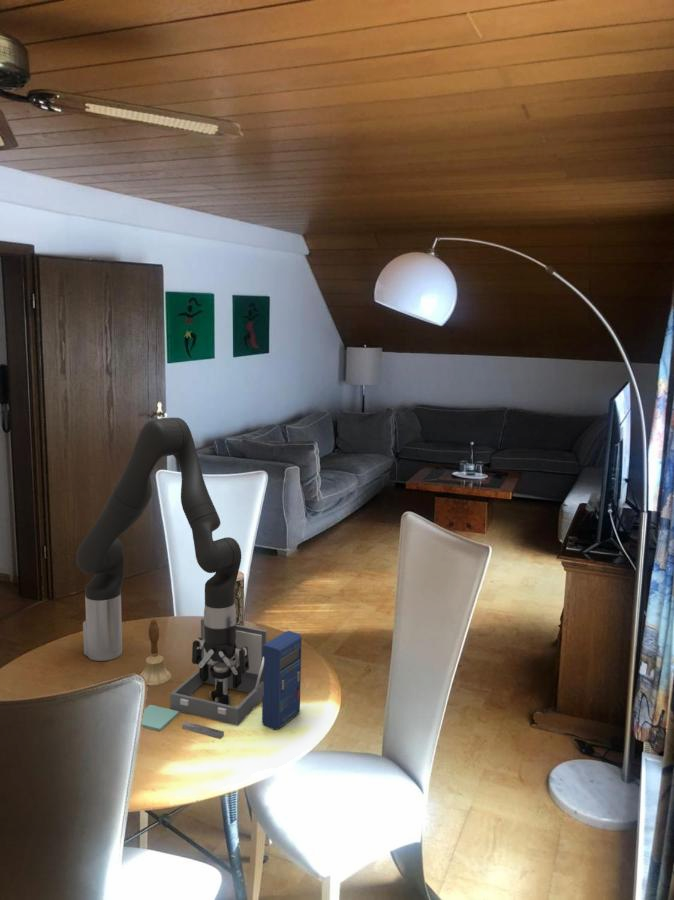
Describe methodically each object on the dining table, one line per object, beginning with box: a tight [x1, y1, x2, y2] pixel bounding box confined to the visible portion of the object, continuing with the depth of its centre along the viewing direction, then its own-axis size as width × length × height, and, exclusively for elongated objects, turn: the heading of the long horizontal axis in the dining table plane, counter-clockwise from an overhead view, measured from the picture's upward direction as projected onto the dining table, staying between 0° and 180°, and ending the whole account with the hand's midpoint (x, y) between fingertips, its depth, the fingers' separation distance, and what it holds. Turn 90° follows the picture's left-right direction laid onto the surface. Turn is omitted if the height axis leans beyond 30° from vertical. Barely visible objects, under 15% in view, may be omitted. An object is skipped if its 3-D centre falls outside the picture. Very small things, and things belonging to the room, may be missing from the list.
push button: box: [209, 662, 232, 706], centre depth 182 cm, size 7×5×10 cm
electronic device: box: [261, 630, 303, 730], centre depth 174 cm, size 10×5×20 cm, turn 148°
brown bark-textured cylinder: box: [234, 571, 245, 626], centre depth 200 cm, size 7×7×25 cm
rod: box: [181, 721, 225, 740], centre depth 169 cm, size 10×1×1 cm, turn 68°
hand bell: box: [139, 619, 172, 687], centre depth 192 cm, size 8×8×16 cm
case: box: [169, 617, 268, 726], centre depth 181 cm, size 19×16×17 cm
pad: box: [140, 704, 180, 732], centre depth 174 cm, size 8×8×1 cm
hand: (220, 683), depth 182 cm, fingers open, 8 cm apart
